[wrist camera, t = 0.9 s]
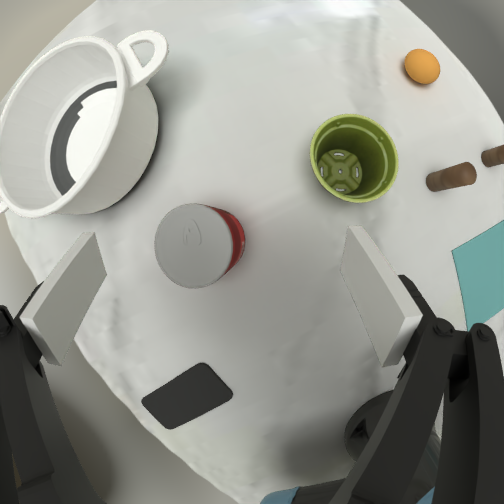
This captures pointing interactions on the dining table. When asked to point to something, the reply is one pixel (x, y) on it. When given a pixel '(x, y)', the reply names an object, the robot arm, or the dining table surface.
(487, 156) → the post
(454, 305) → the dining table surface
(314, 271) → the dining table surface
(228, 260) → the canned food
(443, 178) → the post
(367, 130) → the plant pot
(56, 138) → the pot
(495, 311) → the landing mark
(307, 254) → the dining table surface
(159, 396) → the phone
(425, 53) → the ball
